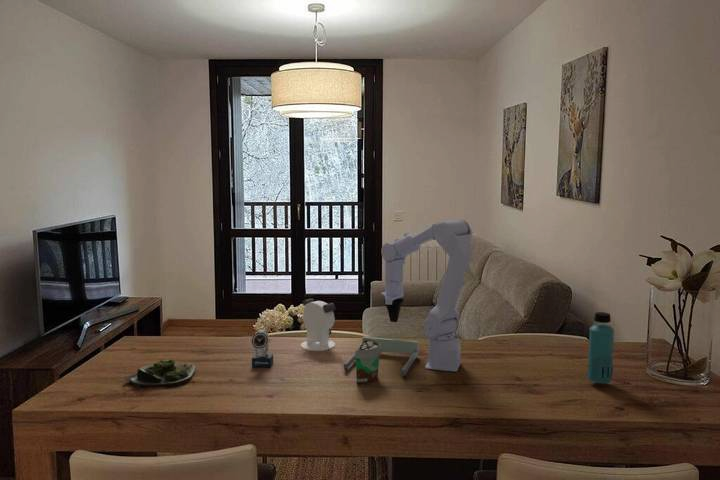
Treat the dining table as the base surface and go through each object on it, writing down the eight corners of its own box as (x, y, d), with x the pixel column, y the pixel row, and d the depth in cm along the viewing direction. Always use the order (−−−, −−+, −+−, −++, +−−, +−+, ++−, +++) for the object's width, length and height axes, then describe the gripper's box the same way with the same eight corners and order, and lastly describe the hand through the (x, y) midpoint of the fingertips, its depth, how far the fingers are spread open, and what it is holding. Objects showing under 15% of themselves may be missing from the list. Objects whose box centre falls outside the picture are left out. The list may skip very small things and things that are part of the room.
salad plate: (143, 365, 182) (142, 350, 181) (202, 364, 183) (202, 349, 182) (120, 389, 163) (119, 373, 162) (186, 388, 163) (185, 372, 163)
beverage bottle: (600, 390, 160) (604, 317, 157) (581, 382, 166) (584, 311, 163) (617, 386, 163) (621, 314, 160) (597, 378, 169) (601, 309, 166)
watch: (250, 370, 176) (249, 334, 175) (256, 361, 184) (255, 326, 183) (269, 370, 176) (268, 334, 174) (274, 361, 184) (273, 326, 182)
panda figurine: (343, 345, 199) (343, 301, 197) (319, 353, 191) (319, 307, 189) (317, 338, 207) (317, 295, 205) (293, 346, 199) (292, 301, 197)
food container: (377, 388, 162) (377, 352, 161) (355, 386, 164) (355, 350, 162) (385, 372, 174) (385, 338, 173) (364, 370, 176) (364, 337, 174)
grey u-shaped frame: (418, 356, 187) (418, 341, 187) (404, 378, 169) (404, 361, 168) (363, 351, 193) (363, 336, 192) (343, 371, 174) (343, 355, 174)
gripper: (387, 274, 199) (387, 314, 201) (375, 283, 185) (375, 326, 187) (408, 276, 197) (408, 316, 199) (398, 285, 183) (397, 328, 185)
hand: (393, 321), depth 193 cm, fingers closed
